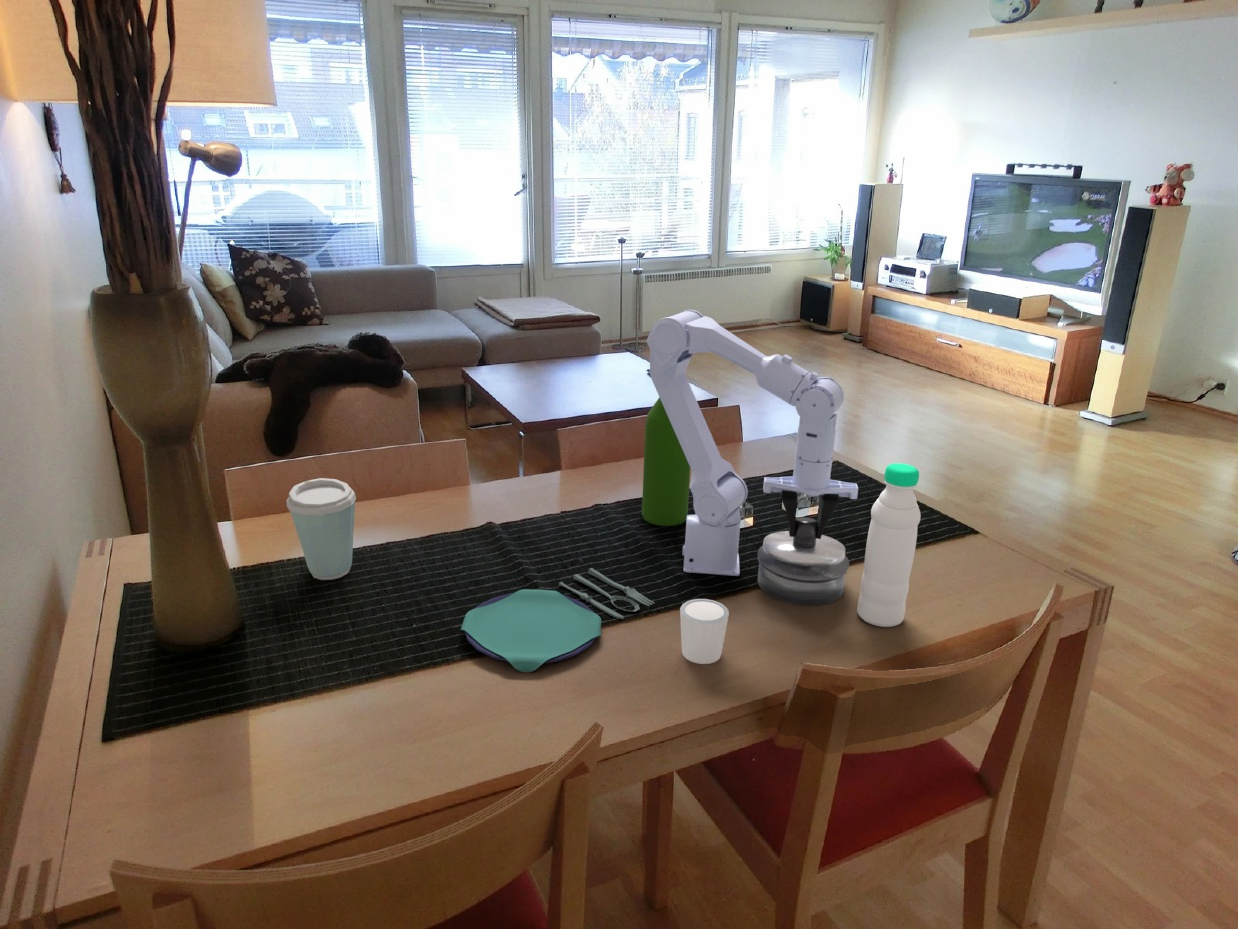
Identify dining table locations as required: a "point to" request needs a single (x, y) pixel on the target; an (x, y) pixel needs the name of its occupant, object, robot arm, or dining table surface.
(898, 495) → the water bottle
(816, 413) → the robot arm
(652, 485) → the wine bottle
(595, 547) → the dining table surface
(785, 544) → the steel lid
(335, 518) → the disposable coffee cup
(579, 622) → the cutlery set
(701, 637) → the white cup
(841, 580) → the cooking pot
